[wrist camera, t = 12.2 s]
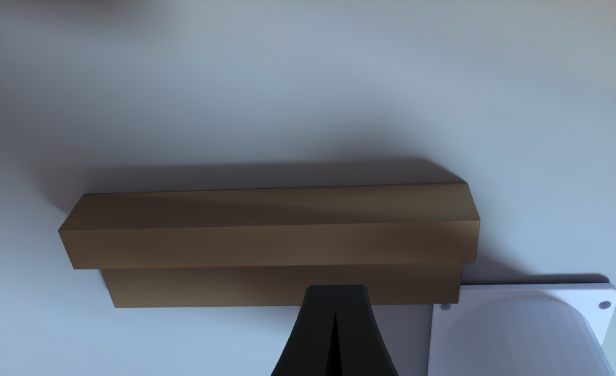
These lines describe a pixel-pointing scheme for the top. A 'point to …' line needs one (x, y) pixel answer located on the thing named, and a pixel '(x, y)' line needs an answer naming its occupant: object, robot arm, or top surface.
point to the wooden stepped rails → (276, 244)
